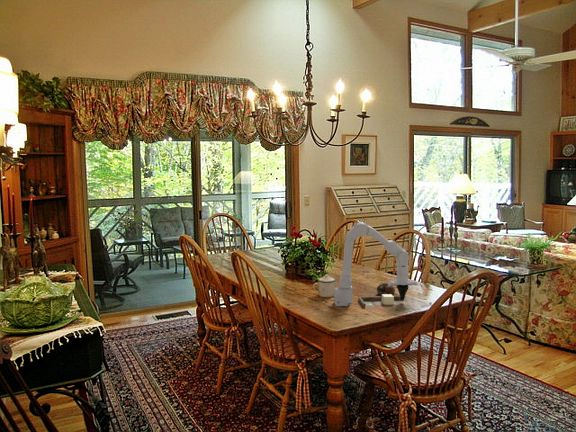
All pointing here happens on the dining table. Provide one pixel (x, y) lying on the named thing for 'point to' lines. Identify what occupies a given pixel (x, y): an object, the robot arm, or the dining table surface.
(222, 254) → the dining table surface
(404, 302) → the trap box
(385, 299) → the cream block
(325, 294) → the teacup with lid
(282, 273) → the dining table surface
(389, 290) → the decorative turtle
